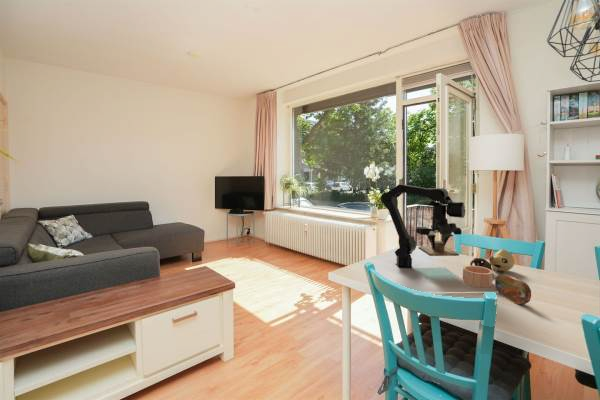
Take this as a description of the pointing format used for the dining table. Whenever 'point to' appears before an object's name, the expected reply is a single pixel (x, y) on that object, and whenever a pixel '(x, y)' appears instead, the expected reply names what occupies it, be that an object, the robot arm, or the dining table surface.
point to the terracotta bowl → (477, 276)
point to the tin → (513, 289)
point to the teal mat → (437, 273)
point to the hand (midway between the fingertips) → (438, 248)
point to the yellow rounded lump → (502, 261)
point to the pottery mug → (479, 263)
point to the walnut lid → (439, 250)
